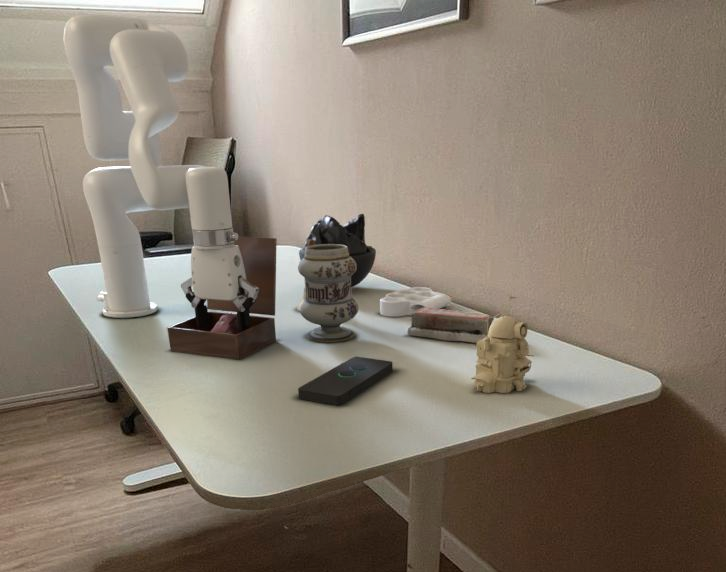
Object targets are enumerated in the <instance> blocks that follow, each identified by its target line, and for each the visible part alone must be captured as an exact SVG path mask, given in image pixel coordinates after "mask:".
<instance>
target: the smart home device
mask: <svg viewBox="0 0 726 572" xmlns="http://www.w3.org/2000/svg"><path fill="white" fill-rule="evenodd" d="M393 367H394V366H393V361H391V360H385V359H378V358H377V359H376V358H370V357H364V356H353V357H351V358H349V359H347V360H345V361H343V362H342V363H340V364H338V365H336V366H335V367H333V368H331V369H329V370H328V371H326V372H324V373H322V374H320V375H319V376H317V377H315V378H314V379H311V380H310V381H308V382H307V383H305V384H303V385H301V386H300V387H298V388H297V395H298V399H299V400H305V401H310V402H317V403H322V404H327V405H334V406H341V405H343V404H344V403H346V402H347V401H349V400H350V399H352V398H354V397H356V396H357V395H358V394H360V393H361V392H363V391H364V390H366V389H367V388H369V387H371V386H372V385H374V384H375V383H377V382H378V381H379V380H381V379H382V378H384V377H387V376H388V375H389V374H390V373H392V372H393Z"/></svg>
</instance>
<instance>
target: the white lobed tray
mask: <svg viewBox="0 0 726 572" xmlns="http://www.w3.org/2000/svg"><path fill="white" fill-rule="evenodd" d="M451 304H452V298H451V297H450V296H449V295H448V294H445V293H442V292H441V291H440V292H438V291H433V288H430V287H427V286H413V287H409V288H404V289H397V290H394V291H393V292H389V293H386V294H385V295H384V297H382V298H379V313H380V315H381V316H383V317H389V318H397V317H405V316H406V317H407V316H409V317H410V316H411V317H412V314H413V313H414V312H415V311H417V310H419V309H420V308H422V307H424V308H425V307H427V308H436V309H443V308H445V307H447V306H449V305H451Z"/></svg>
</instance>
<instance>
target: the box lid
mask: <svg viewBox="0 0 726 572" xmlns="http://www.w3.org/2000/svg"><path fill="white" fill-rule="evenodd" d="M277 244H278V243H277V238H273V237H255V236H239V235H238V240H234V245H238V247H239V250H240V252H241V256H242V260H243V264H244V269H245V274H246V280H247V281H249V282H250V283H252V284H253V285H255V286H257V287H258V288H259V292H258V295H257V298H256V301H255V303H254V304H253V305H252V307H251V309H249V314H250V315H251V314H252V315H262V316H271V317H272V316H276V299H277V298H276V294H277V293H276V292H277V291H276V290H277ZM248 295H249V292H248V294H247V295H246V296H245V297H246V298H248ZM206 305H207V310H210V311H221V312H230V313H237V312H238V311H239V309H238V308H237V307H236V305H235V304H234V303H233V301H218V300H206Z"/></svg>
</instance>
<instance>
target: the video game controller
mask: <svg viewBox="0 0 726 572" xmlns="http://www.w3.org/2000/svg"><path fill="white" fill-rule="evenodd" d="M230 313H231V314H225V315H223V316H221V318H220V320H219V321H218V322H217V324H216V325H215V326H214V328H213V329H212V330H211V331H210V332H218V333H227V334H235V332H236V331H237V329H238V320H237V315H236V314H237V313H233V312H230Z"/></svg>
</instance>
